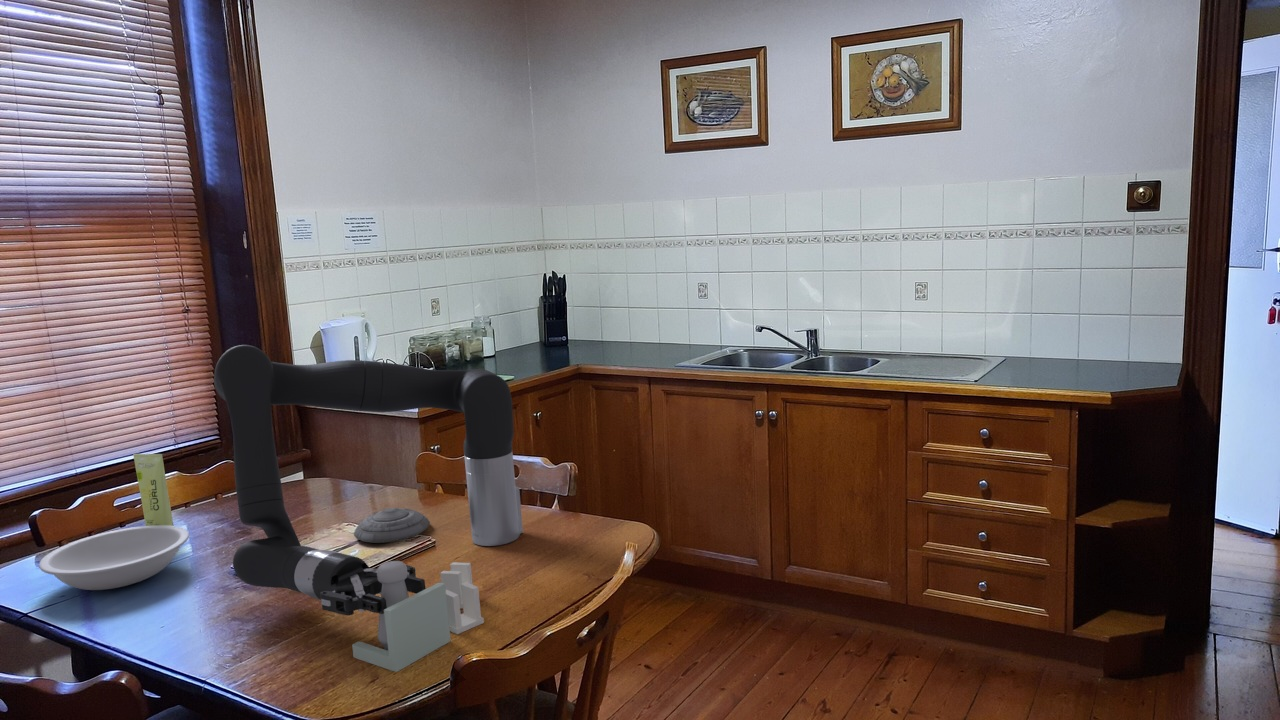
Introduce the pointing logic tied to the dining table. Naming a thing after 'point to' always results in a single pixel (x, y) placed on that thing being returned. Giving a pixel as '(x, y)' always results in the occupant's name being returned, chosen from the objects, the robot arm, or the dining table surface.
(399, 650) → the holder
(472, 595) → the clip
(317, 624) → the dining table surface
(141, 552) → the soup bowl
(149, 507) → the tube
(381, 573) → the salt shaker
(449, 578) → the clip
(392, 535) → the flying saucer
